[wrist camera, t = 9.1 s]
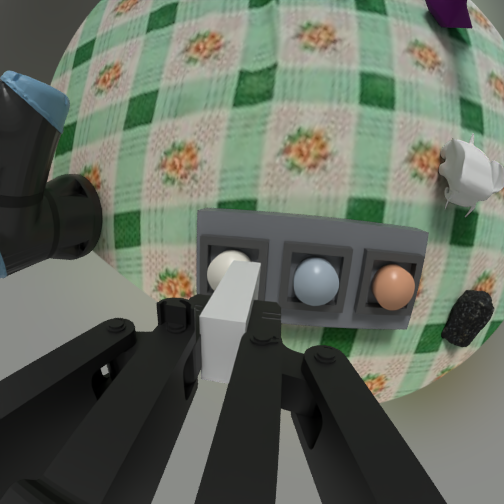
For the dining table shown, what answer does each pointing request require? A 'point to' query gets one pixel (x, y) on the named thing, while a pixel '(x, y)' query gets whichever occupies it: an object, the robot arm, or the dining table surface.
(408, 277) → the terracotta button
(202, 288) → the console
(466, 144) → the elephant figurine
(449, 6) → the perfume bottle
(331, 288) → the slate button
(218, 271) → the ivory button
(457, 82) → the dining table surface
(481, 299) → the rock
